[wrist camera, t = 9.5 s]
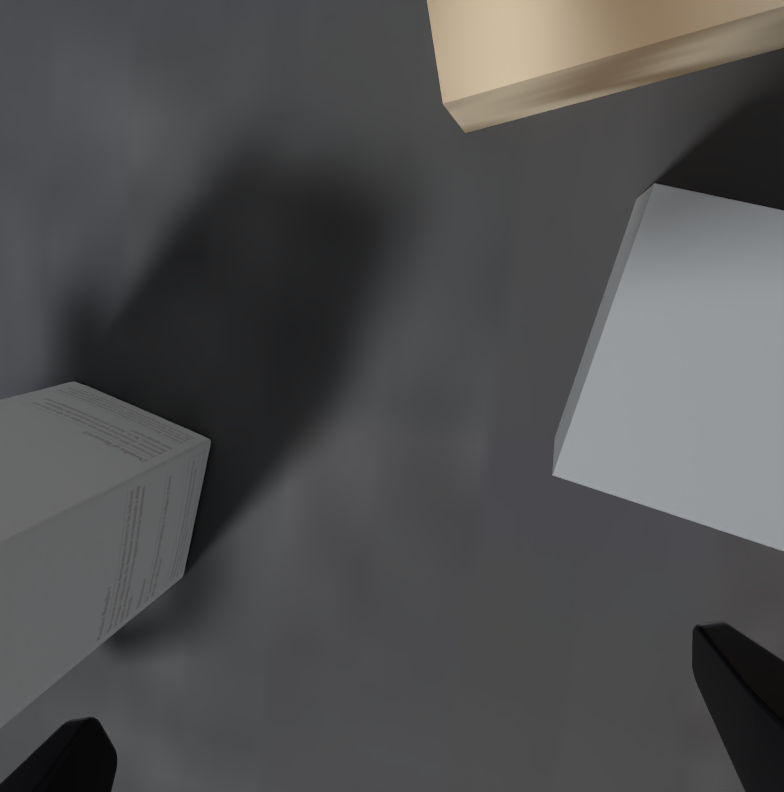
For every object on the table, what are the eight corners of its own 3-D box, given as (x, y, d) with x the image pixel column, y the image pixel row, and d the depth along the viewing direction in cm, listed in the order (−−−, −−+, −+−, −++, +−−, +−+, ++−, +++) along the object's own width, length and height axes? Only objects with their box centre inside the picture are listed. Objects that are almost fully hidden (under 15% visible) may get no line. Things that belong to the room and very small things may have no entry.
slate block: (928, 263, 16) (1039, 264, 12) (803, 513, 18) (864, 577, 15) (635, 199, 18) (654, 183, 14) (554, 435, 20) (552, 475, 16)
